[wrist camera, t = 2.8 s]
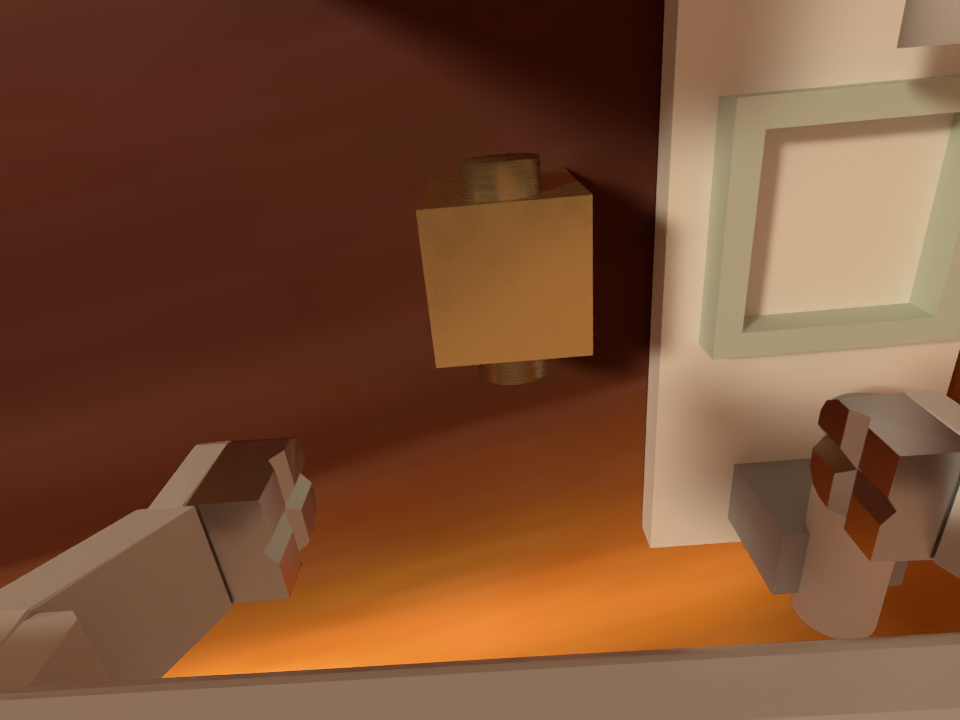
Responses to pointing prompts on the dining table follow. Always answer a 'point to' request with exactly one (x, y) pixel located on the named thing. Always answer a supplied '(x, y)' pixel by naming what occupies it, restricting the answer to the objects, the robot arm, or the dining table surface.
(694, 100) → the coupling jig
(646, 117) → the dining table surface
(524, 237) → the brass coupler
